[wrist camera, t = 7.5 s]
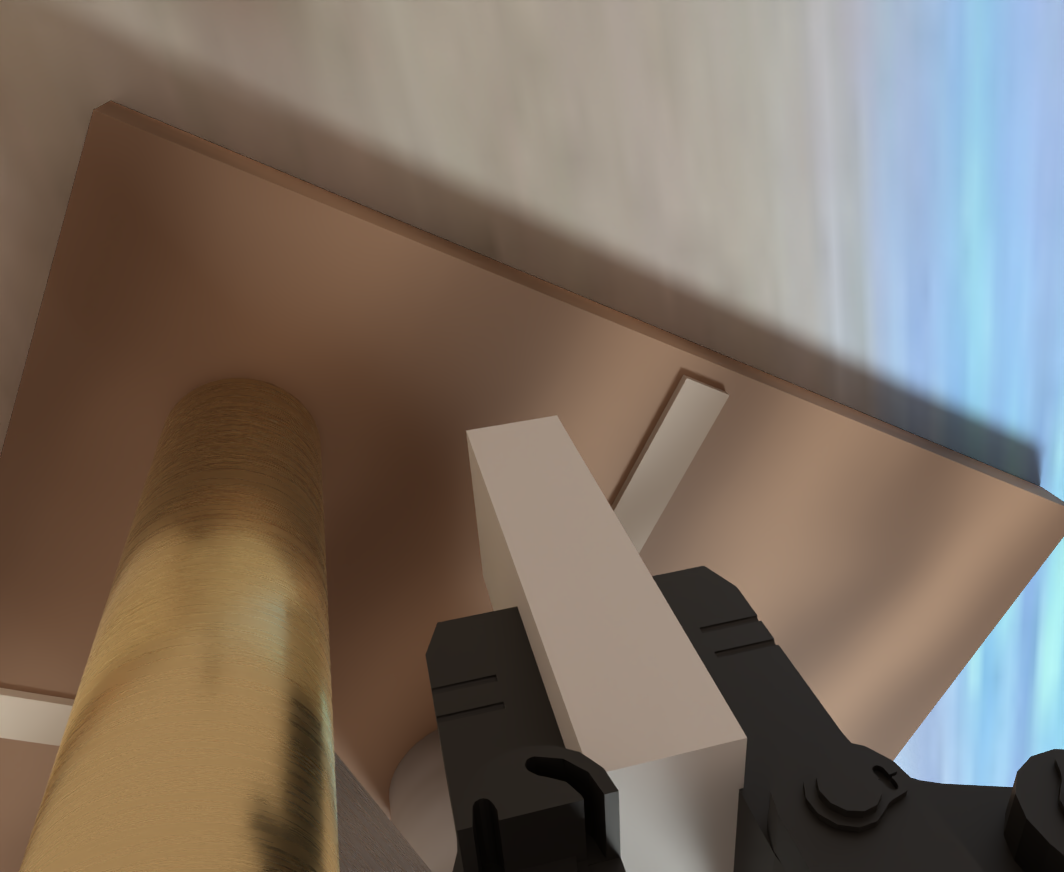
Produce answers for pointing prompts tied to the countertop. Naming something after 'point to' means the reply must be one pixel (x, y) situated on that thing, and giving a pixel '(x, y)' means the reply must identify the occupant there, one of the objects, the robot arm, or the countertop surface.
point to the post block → (453, 461)
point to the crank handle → (216, 669)
